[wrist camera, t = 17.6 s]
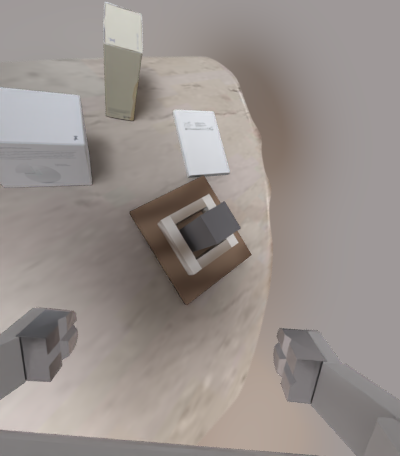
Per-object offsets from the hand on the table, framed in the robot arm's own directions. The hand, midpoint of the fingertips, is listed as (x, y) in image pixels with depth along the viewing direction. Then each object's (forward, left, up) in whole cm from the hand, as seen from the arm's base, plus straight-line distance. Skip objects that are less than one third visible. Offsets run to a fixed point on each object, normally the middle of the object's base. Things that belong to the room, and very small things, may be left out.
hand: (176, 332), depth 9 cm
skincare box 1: (-21, 0, -25) cm, 33 cm away
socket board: (-2, +13, -25) cm, 28 cm away
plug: (-2, +13, -24) cm, 27 cm away
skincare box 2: (-27, +14, -25) cm, 40 cm away
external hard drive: (-16, +24, -26) cm, 38 cm away
